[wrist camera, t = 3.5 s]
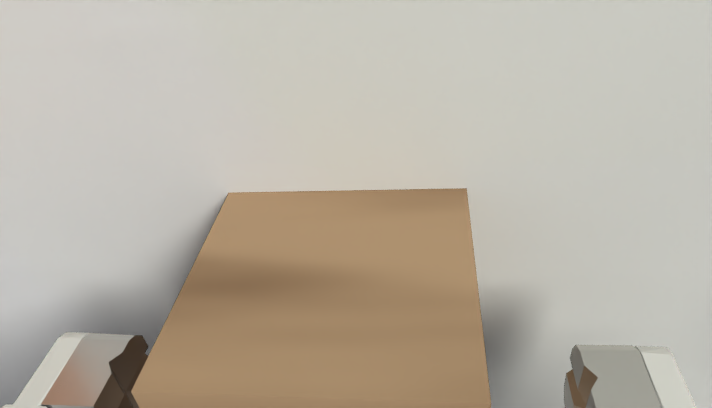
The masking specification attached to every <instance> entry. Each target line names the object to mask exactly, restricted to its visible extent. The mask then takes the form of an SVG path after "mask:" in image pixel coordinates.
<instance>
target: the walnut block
mask: <svg viewBox="0 0 712 408" xmlns="http://www.w3.org/2000/svg"><path fill="white" fill-rule="evenodd" d="M131 393H132V395H133V397H134V398H135V400H136V402H137V404H138V406H139V408H491V398H490V389H489V381H488V372H487V363H486V354H485V346H484V337H483V328H482V319H481V311H480V302H479V293H478V284H477V276H476V267H475V258H474V249H473V241H472V232H471V223H470V214H469V206H468V197H467V189H410V190H354V191H298V192H241V193H228V195H227V197H226V199H225V201H224V204H223V206H222V208H221V210H220V212H219V214H218V216H217V218H216V220H215V222H214V224H213V226H212V228H211V230H210V232H209V234H208V236H207V238H206V240H205V242H204V244H203V246H202V248H201V250H200V252H199V254H198V256H197V258H196V260H195V262H194V265H193V267H192V269H191V271H190V273H189V275H188V277H187V279H186V281H185V283H184V285H183V287H182V289H181V291H180V293H179V295H178V297H177V299H176V301H175V303H174V305H173V307H172V309H171V311H170V313H169V315H168V317H167V319H166V321H165V324H164V326H163V328H162V330H161V332H160V334H159V336H158V338H157V340H156V342H155V344H154V346H153V348H152V350H151V352H150V354H149V356H148V358H147V360H146V362H145V364H144V366H143V368H142V370H141V372H140V374H139V376H138V378H137V380H136V382H135V385H134V387H133V389H132V391H131Z"/></svg>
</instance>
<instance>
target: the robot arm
mask: <svg viewBox="0 0 712 408" xmlns="http://www.w3.org/2000/svg"><path fill="white" fill-rule="evenodd" d="M147 348H148V345H147V343H146V342H145V340H144V338H143V336H140V335H121V334H102V333H79V332H66V333H64V334H63V335H62V336H60V337H59V338H58V339H57V340H56V342H55V343H54V345H53V346H52V348H51V349H50V351H49V352H48V354H47V355H46V356H45V358H44V359H43V361H42V362H41V364H40V365H39V367H38V368H37V370H36V371H35V373H34V374H33V376H32V377H31V379H30V380H29V382H28V383H27V385H26V386H25V388H24V389H23V391H22V392H21V394H20V395H19V397H18V398H17V399H16V401H15V402H14V404H6V405H4V406H3V407H2V408H139V406H138V404H137V402H136V400H135V398H134V397H133V395H132V393H131V391H132V389H133V387H134V385H135V382H136V380H137V378H138V376H139V374H140V372H141V370H142V368H143V366H144V364H145V362H146V360H147V358H148V356H147V355H146V354H145V352H146V350H147ZM570 360H571V364H572V368H573V369H572V370H571V371H569V372H568V373H566V378H565V383H564V404H565V408H696V405H695V403H694V401H693V399H692V397H691V394H690V392H689V390H688V388H687V385H686V383H685V381H684V379H683V376H682V374H681V372H680V370H679V367H678V365H677V363H676V361H675V359H674V356H673V354H672V352H671V351H670V350H669V349H668V348H667V347H645V346H635V347H634V346H630V345H575V346H574V347H573V348H572V352H571V356H570Z"/></svg>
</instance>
